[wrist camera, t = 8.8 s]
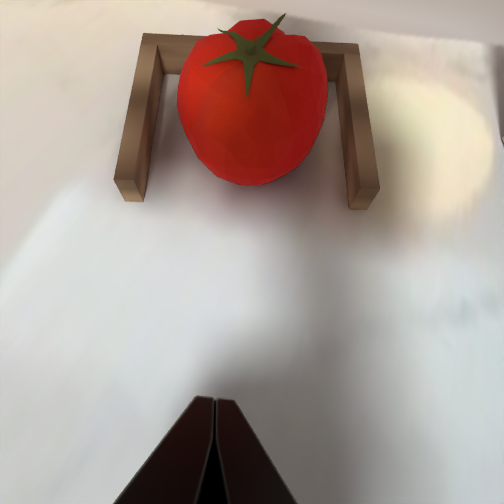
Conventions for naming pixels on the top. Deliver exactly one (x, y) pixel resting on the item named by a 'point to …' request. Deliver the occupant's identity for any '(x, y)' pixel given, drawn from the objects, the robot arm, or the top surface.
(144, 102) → the walnut bay
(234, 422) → the robot arm
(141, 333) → the top surface
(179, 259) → the top surface
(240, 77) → the tomato
